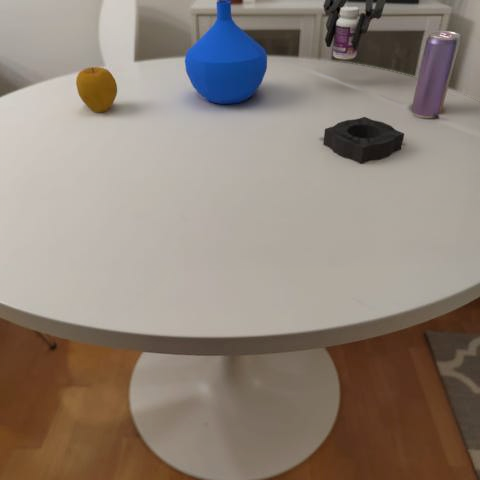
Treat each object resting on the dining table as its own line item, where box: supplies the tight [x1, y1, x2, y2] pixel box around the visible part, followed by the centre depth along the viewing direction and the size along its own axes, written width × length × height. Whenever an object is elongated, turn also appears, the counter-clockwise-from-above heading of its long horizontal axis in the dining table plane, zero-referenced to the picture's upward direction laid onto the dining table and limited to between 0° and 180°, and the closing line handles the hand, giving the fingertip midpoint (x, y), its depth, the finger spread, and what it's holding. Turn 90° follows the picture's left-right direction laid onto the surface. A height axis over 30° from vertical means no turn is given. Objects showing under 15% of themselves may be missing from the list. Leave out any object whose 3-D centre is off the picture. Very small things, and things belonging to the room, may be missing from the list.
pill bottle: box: [332, 6, 360, 60], centre depth 101 cm, size 5×5×10 cm
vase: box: [184, 0, 268, 105], centre depth 100 cm, size 18×18×19 cm
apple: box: [75, 66, 118, 113], centre depth 100 cm, size 8×8×9 cm
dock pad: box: [323, 116, 405, 165], centre depth 84 cm, size 11×11×3 cm
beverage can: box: [410, 30, 461, 119], centre depth 91 cm, size 6×6×15 cm
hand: (340, 44), depth 100 cm, fingers closed on pill bottle, 5 cm apart
